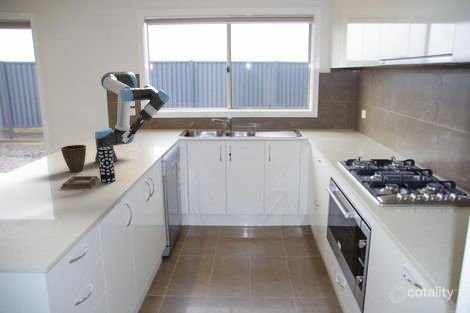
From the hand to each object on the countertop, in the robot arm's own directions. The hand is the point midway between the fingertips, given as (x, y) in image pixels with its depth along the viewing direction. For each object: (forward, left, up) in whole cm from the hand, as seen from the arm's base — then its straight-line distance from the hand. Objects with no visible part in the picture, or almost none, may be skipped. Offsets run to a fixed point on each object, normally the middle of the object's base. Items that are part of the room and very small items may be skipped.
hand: (123, 139), depth 207 cm
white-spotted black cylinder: (+2, -11, -25) cm, 27 cm away
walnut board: (+7, -25, -24) cm, 36 cm away
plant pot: (-22, -39, -25) cm, 51 cm away
